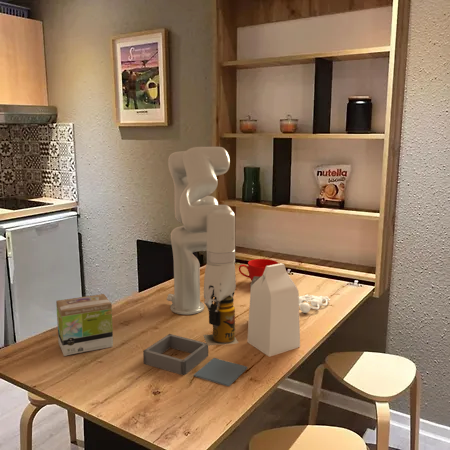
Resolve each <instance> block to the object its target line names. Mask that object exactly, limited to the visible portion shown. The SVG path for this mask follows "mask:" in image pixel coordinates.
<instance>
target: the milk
mask: <svg viewBox="0 0 450 450" xmlns="http://www.w3.org/2000/svg"><path fill="white" fill-rule="evenodd" d="M250 287H251V292H249V293H250V295H249V311H248V326H247V327H248V328H247V343H248V344H249V345H251V346H253V347H254V348H256V350H259V352H262V353H263V354H264V355H266V356H268V357H274V356H276V355H279V354H282V353H285V352H289V351H291V350H294V349H298V347H299V348H300V347H301V333H300V332H301V331H300V330H301V329H300V306H299V294H300V293H299V288H298V287H297V286H296V284H295V282H294V280H292V278H291V276H290V275H289V273H288V271H287V270H286V266H285V264H284V263H281V262H280V263H279V262H278V264H274V265H269V266H266V268H265V270H264V273H263V276H261V277H260V278H259V279H258V280H257V281H256V282H255V283H254V284H253V285H252V286H251V285H250Z"/></svg>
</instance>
